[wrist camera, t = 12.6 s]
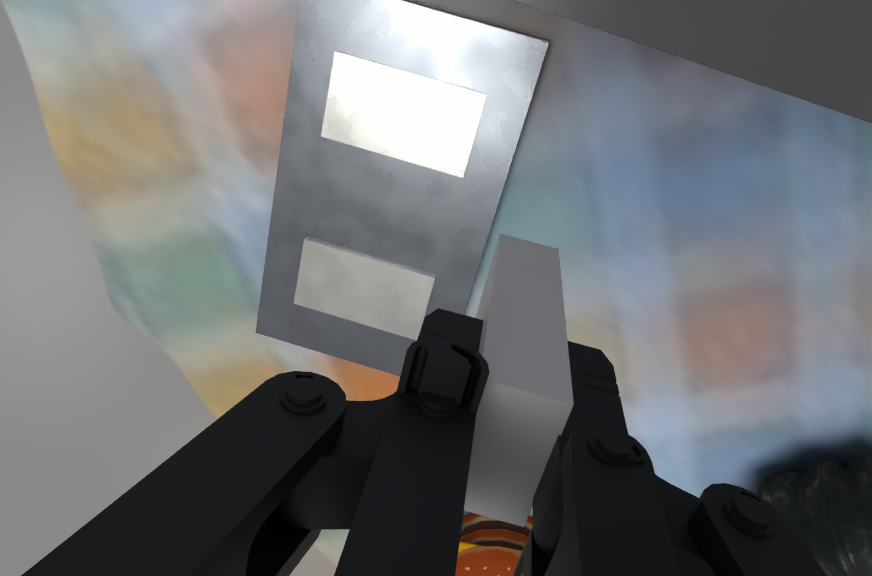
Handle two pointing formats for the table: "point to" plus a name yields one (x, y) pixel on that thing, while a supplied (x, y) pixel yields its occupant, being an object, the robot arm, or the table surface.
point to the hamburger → (490, 546)
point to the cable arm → (752, 41)
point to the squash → (829, 512)
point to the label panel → (388, 172)
